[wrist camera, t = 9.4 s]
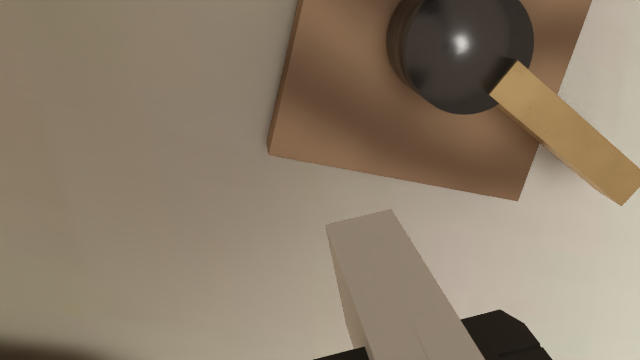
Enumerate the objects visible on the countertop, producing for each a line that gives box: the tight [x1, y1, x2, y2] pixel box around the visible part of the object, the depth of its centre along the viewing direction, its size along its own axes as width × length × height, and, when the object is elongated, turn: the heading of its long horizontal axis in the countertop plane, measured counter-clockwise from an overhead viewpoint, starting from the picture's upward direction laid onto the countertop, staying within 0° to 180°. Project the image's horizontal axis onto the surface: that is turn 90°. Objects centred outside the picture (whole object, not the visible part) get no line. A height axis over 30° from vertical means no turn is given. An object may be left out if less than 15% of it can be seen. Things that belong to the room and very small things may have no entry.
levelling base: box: [267, 0, 592, 201], centre depth 31 cm, size 20×15×6 cm
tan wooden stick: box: [387, 0, 640, 206], centre depth 31 cm, size 15×6×4 cm, turn 52°
